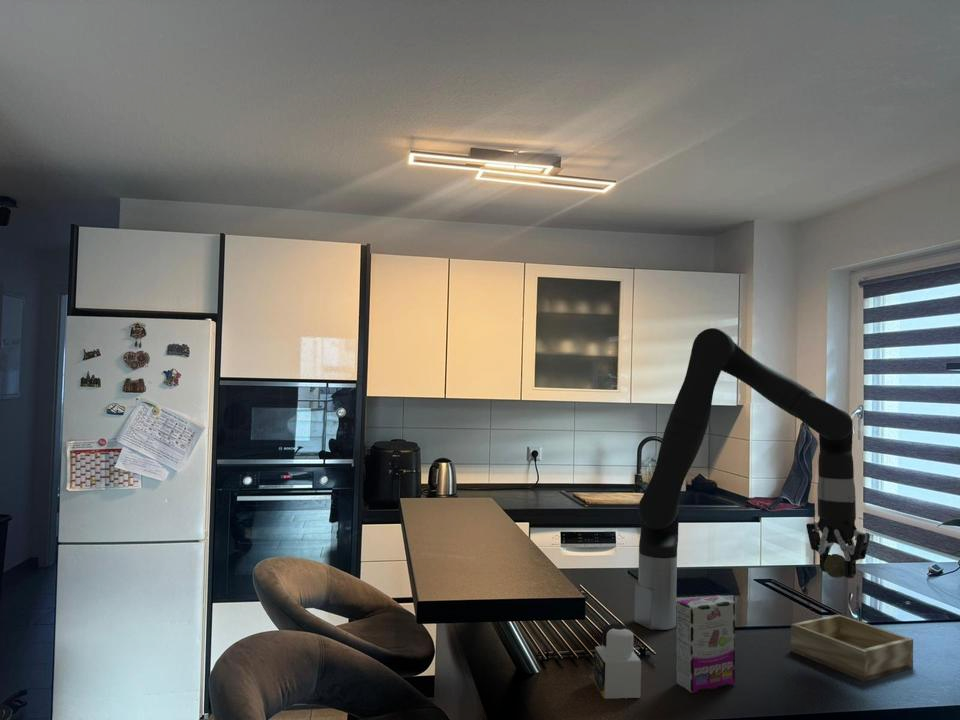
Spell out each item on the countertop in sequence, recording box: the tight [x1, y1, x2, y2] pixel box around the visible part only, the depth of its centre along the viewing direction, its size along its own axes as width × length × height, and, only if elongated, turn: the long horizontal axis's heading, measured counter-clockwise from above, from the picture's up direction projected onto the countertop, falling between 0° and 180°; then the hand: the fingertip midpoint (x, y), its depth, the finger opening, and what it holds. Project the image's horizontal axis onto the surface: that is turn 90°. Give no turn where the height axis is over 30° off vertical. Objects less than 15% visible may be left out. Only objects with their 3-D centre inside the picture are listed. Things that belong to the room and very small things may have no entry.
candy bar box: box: [675, 594, 736, 694], centre depth 131 cm, size 11×5×16 cm, turn 114°
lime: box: [824, 553, 846, 579], centre depth 147 cm, size 4×5×5 cm
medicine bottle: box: [593, 623, 642, 700], centre depth 127 cm, size 7×7×12 cm
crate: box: [790, 613, 914, 683], centre depth 146 cm, size 17×17×6 cm
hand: (837, 574), depth 147 cm, fingers closed on lime, 5 cm apart
